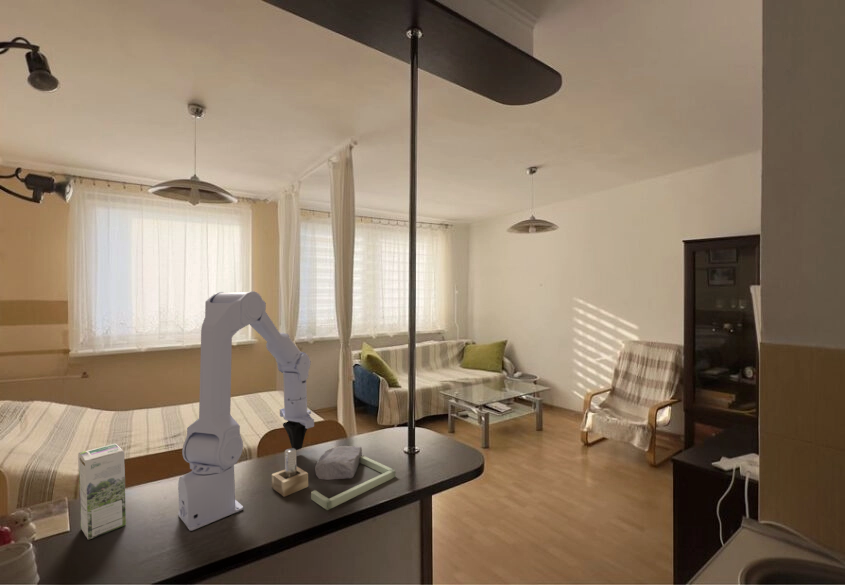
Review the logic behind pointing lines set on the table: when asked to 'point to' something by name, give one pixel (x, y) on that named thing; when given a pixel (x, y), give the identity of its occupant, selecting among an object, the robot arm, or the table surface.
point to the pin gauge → (290, 463)
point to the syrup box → (102, 490)
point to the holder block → (289, 482)
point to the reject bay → (359, 489)
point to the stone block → (338, 463)
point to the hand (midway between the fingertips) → (297, 448)
